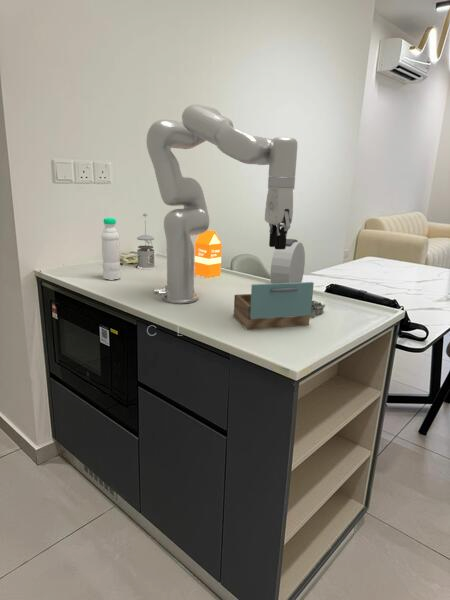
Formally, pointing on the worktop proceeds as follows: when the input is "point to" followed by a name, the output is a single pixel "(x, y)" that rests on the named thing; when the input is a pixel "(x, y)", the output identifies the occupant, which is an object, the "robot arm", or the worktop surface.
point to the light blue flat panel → (281, 300)
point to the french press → (145, 251)
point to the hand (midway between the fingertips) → (277, 247)
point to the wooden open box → (243, 316)
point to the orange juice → (208, 255)
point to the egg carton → (316, 308)
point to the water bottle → (110, 250)
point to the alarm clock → (288, 263)
